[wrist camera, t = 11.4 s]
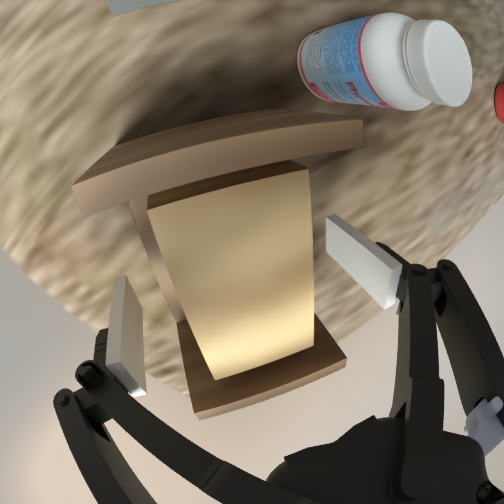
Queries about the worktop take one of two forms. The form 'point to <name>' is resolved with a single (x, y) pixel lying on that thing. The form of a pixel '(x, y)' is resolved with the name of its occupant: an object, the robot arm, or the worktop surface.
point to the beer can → (499, 102)
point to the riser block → (131, 5)
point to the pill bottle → (387, 63)
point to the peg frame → (202, 167)
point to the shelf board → (241, 262)
